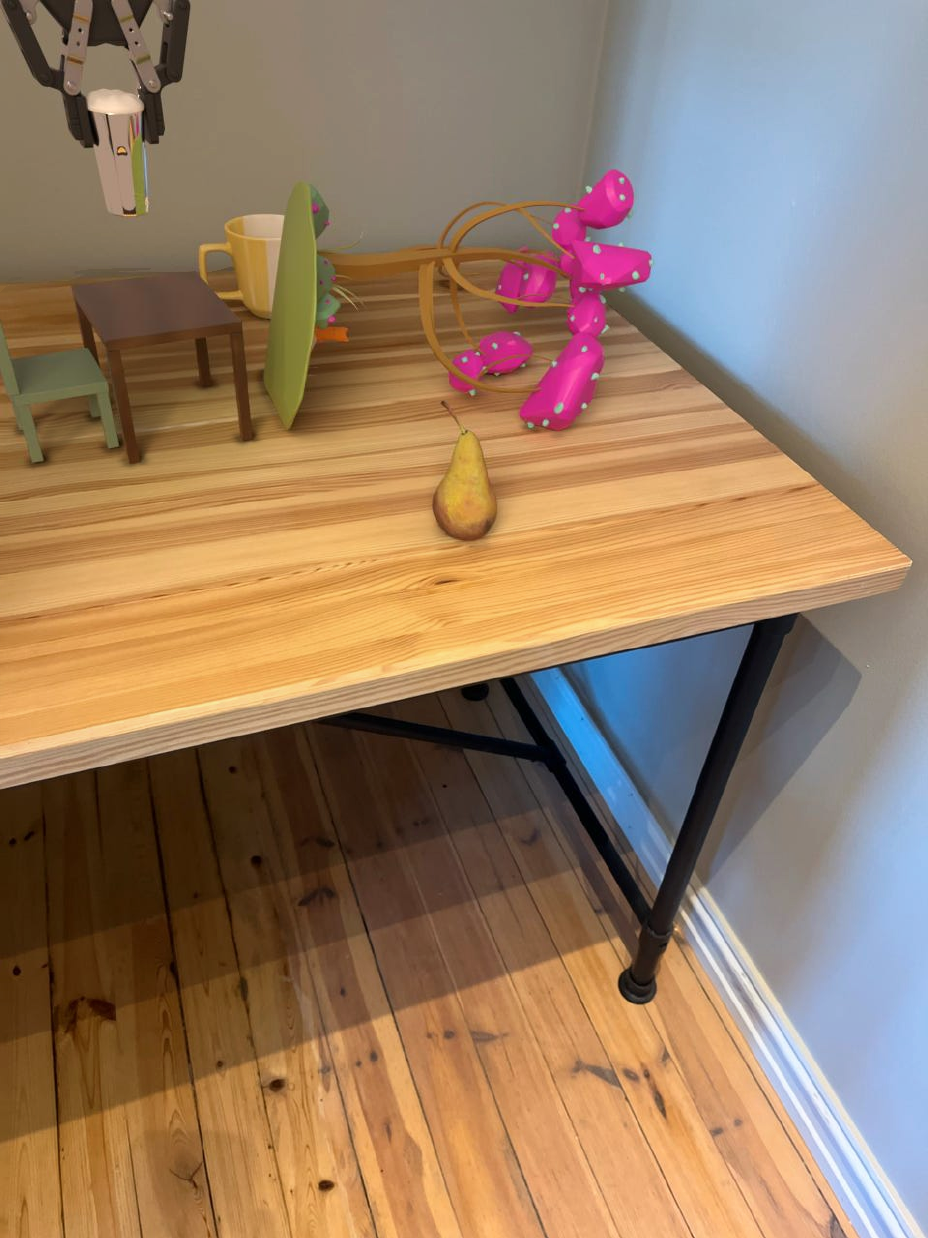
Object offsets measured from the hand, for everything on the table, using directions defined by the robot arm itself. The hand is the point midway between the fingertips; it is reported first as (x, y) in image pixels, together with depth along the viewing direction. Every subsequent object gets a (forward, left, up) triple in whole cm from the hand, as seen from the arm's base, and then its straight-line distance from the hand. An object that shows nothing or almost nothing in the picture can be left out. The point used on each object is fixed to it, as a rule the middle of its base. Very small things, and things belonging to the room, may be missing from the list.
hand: (119, 142), depth 74 cm
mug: (+19, +26, -26) cm, 41 cm away
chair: (-9, +2, -26) cm, 27 cm away
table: (+1, +2, -26) cm, 26 cm away
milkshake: (0, 0, -5) cm, 5 cm away
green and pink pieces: (+29, -4, -26) cm, 39 cm away
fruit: (+18, -28, -26) cm, 43 cm away
